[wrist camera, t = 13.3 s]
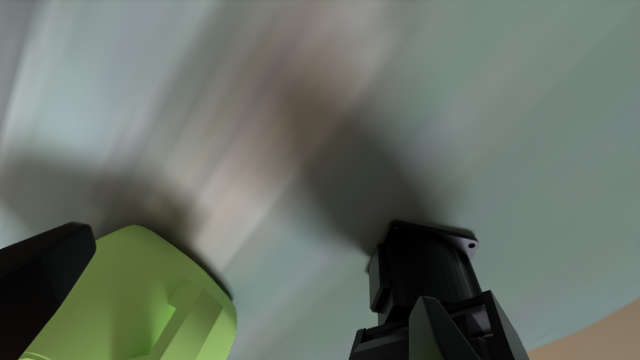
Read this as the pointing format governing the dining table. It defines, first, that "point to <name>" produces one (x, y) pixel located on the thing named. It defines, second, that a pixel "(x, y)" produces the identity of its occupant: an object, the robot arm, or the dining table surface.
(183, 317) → the teapot
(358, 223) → the dining table surface
